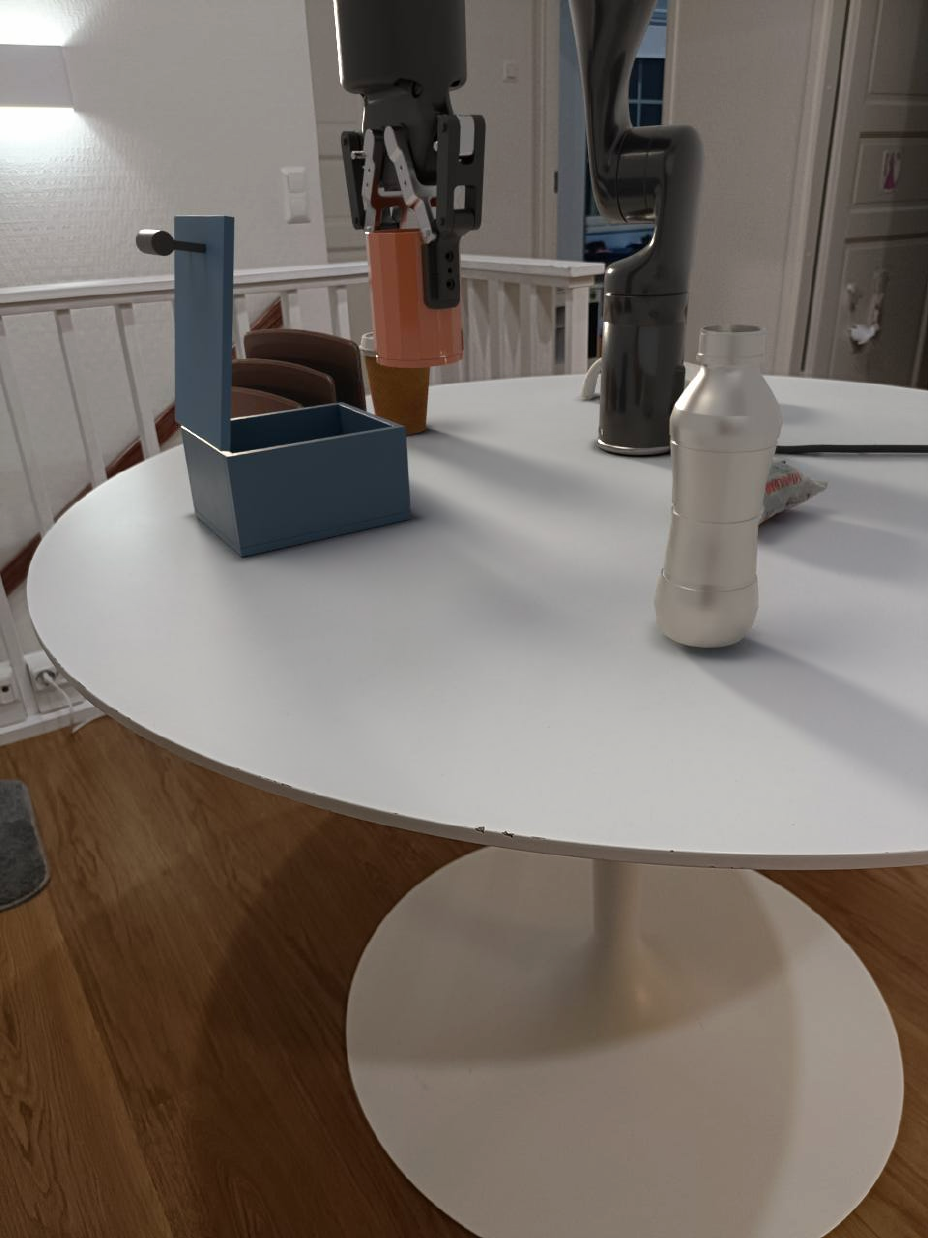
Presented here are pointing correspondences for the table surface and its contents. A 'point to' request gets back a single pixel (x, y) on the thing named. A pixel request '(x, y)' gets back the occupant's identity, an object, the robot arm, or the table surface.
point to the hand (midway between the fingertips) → (416, 302)
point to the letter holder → (295, 372)
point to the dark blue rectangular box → (299, 477)
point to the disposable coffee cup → (397, 390)
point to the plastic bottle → (718, 490)
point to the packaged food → (787, 489)
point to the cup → (408, 305)
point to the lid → (201, 320)
